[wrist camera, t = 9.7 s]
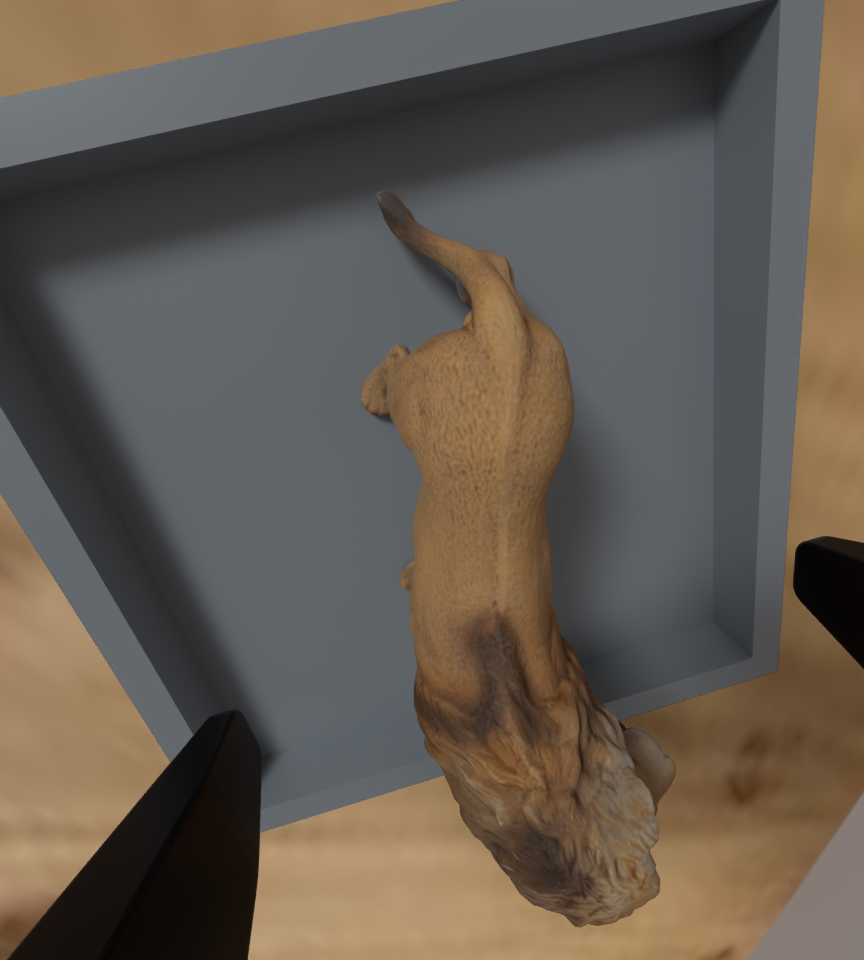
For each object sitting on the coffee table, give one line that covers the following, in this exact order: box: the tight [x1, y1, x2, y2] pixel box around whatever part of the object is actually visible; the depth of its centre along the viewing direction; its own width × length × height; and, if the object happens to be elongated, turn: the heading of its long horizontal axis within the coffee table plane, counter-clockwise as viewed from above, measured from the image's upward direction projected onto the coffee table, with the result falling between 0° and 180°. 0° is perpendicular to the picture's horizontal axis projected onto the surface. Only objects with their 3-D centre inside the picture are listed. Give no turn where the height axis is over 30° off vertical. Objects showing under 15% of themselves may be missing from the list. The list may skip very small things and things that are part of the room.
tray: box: [0, 0, 825, 832], centre depth 14 cm, size 20×20×2 cm
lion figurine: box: [361, 190, 676, 928], centre depth 11 cm, size 15×5×9 cm, turn 15°
